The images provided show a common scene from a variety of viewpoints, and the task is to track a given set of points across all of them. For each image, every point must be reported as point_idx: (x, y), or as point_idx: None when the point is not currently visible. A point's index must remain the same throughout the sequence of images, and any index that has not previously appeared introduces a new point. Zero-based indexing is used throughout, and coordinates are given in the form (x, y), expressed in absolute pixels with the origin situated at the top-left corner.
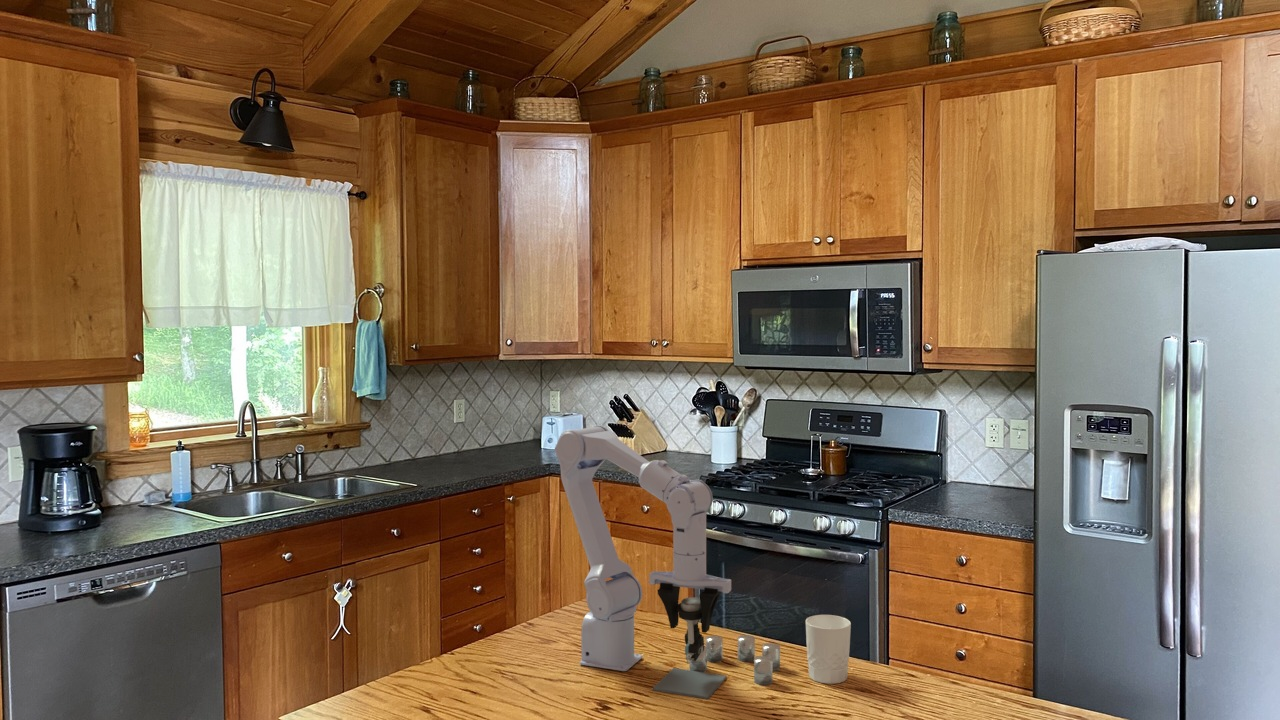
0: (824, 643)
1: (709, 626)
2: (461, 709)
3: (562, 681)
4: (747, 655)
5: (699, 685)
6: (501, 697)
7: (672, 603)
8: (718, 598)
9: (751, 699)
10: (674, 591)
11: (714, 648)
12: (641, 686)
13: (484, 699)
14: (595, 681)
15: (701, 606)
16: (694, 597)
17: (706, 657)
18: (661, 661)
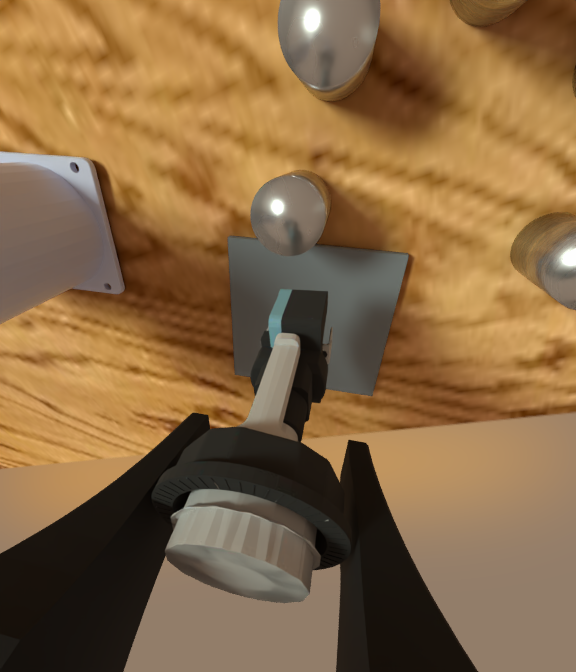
0: None
1: (369, 456)
2: (32, 465)
3: (55, 364)
4: (514, 9)
5: (338, 342)
6: (36, 432)
7: (147, 578)
8: (465, 659)
9: (488, 375)
10: (92, 657)
11: (341, 90)
12: (204, 356)
13: (24, 440)
14: (105, 351)
15: (339, 657)
16: (227, 550)
17: (327, 215)
18: (161, 167)
